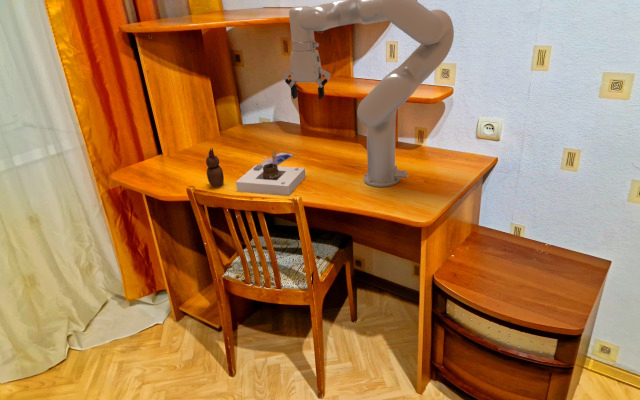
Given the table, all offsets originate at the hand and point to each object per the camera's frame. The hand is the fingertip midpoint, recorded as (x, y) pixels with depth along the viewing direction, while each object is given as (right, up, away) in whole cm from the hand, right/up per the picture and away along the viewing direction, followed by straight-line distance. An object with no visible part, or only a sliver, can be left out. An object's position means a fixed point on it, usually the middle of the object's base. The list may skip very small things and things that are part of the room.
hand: (308, 98), depth 158 cm
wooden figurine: (-34, -30, +9) cm, 46 cm away
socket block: (-13, -30, +6) cm, 33 cm away
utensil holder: (-13, -30, +6) cm, 33 cm away
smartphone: (-13, -20, +28) cm, 37 cm away
